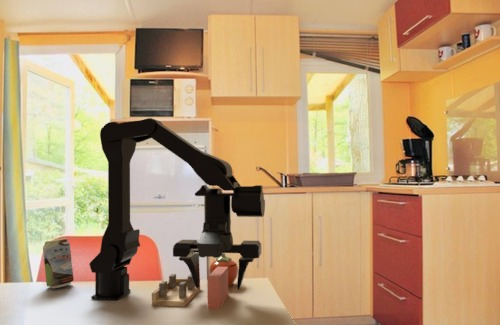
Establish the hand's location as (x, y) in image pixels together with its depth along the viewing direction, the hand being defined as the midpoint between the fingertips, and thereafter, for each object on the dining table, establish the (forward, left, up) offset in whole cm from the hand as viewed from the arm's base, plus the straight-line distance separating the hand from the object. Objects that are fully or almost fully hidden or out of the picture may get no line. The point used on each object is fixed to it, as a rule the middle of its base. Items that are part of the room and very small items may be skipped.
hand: (218, 288), depth 81 cm
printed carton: (-42, +6, -3) cm, 43 cm away
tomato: (-1, +12, -3) cm, 12 cm away
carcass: (-10, +2, -3) cm, 10 cm away
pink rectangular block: (0, 0, -3) cm, 3 cm away
